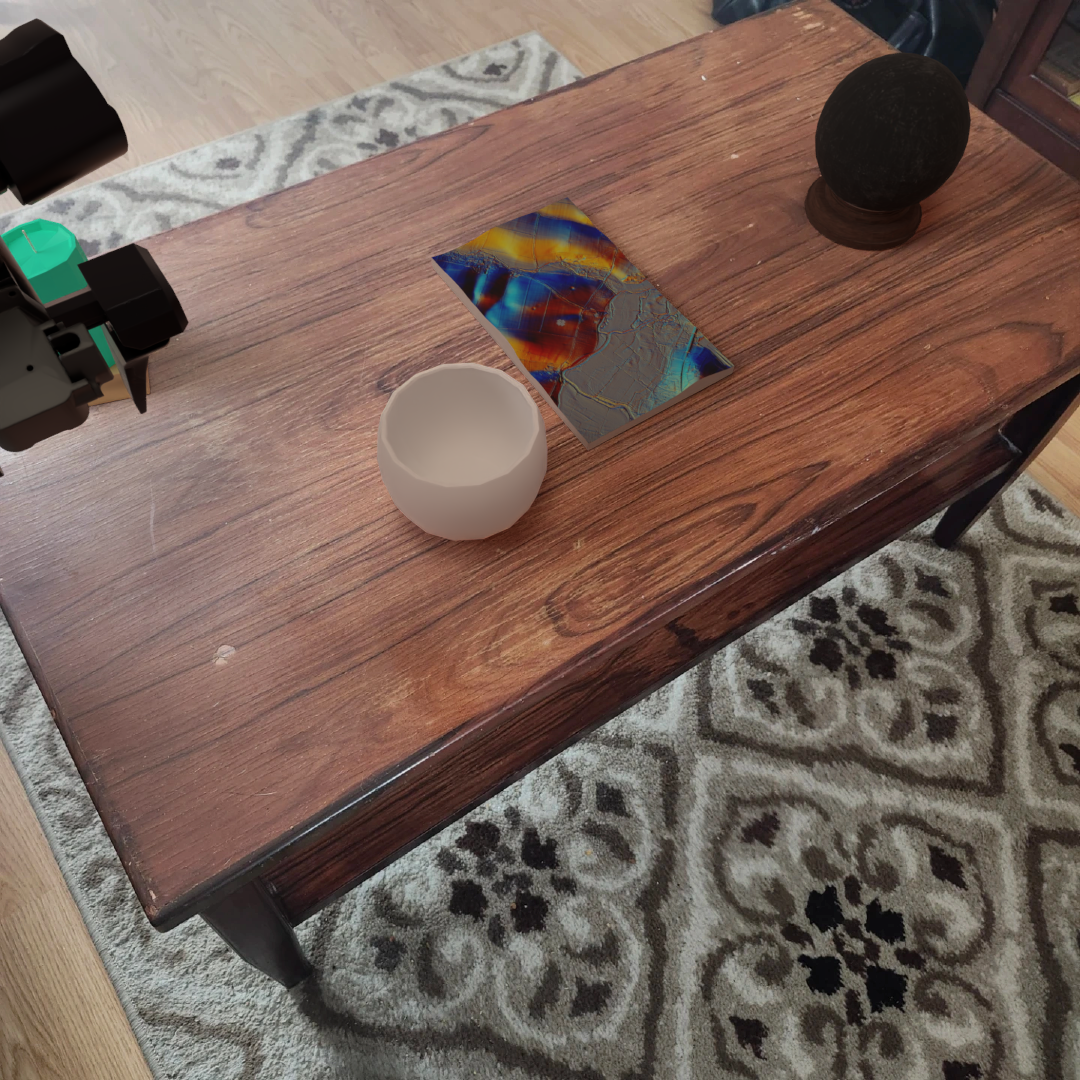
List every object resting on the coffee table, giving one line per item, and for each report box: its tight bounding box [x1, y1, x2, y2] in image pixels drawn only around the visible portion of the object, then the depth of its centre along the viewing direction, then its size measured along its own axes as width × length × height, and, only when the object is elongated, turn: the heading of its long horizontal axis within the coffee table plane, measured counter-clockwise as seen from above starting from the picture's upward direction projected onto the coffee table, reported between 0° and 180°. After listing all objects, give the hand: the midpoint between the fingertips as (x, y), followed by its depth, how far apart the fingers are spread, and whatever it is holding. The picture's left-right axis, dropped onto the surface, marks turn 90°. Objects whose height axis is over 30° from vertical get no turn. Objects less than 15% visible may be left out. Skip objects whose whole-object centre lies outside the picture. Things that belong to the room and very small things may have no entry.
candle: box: [0, 217, 116, 368], centre depth 70 cm, size 6×6×12 cm
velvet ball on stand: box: [804, 52, 972, 252], centre depth 83 cm, size 13×13×15 cm
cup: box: [376, 362, 549, 542], centre depth 67 cm, size 12×12×10 cm
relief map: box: [430, 196, 735, 451], centre depth 81 cm, size 25×15×2 cm, turn 33°
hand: (72, 440), depth 58 cm, fingers open, 9 cm apart
